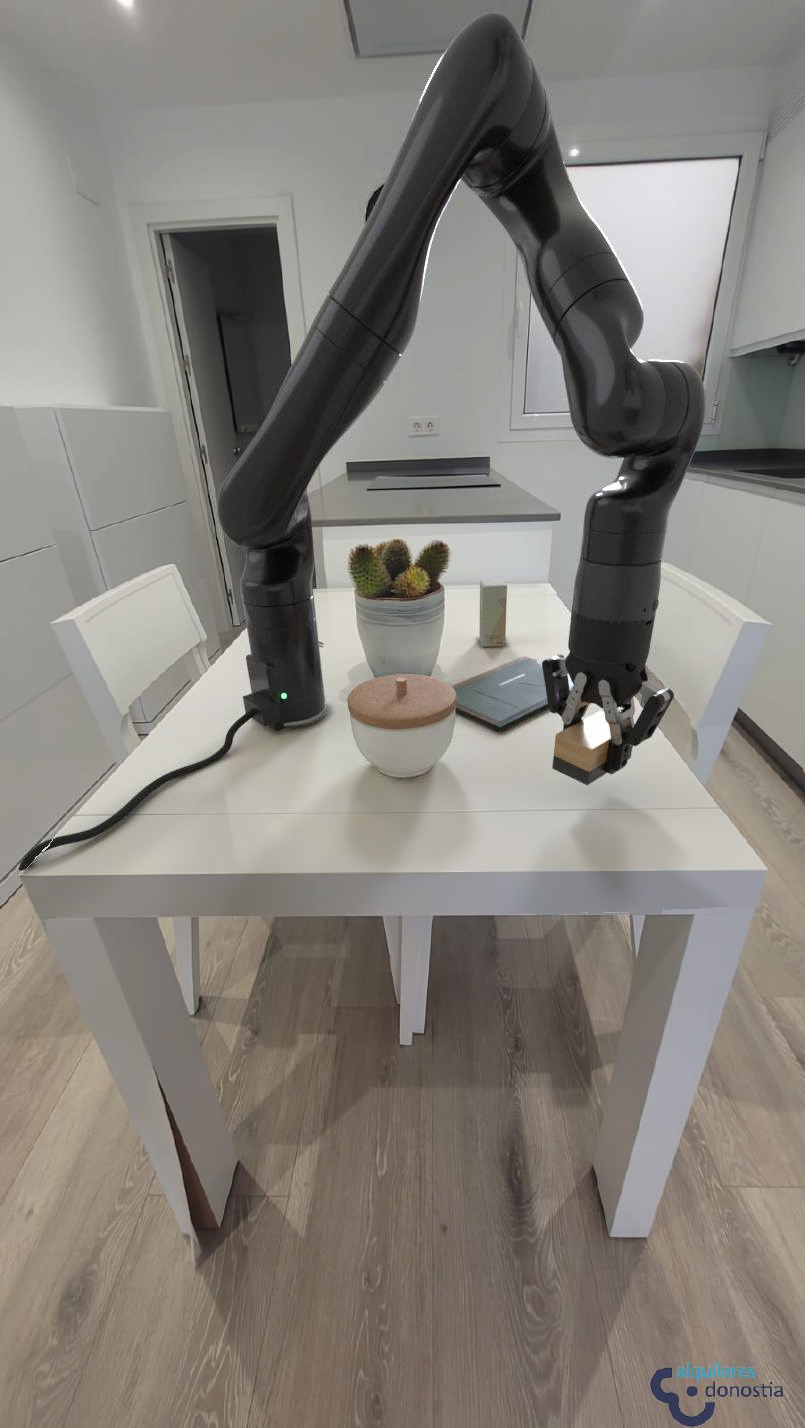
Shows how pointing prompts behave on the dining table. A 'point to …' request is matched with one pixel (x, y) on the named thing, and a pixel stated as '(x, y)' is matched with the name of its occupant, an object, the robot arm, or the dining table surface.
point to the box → (493, 612)
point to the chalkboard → (504, 694)
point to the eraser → (583, 749)
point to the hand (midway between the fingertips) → (592, 760)
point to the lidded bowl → (403, 722)
